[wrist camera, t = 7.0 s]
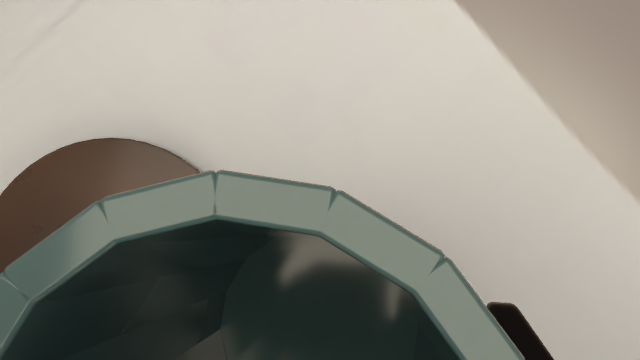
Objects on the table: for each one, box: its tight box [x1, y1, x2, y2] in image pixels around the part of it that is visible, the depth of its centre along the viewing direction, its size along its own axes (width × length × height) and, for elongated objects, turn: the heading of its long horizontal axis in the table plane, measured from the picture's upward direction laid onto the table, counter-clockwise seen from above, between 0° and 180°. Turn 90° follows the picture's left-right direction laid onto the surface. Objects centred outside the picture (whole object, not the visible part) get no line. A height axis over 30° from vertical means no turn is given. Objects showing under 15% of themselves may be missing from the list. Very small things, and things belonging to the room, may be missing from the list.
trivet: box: [0, 138, 200, 274], centre depth 22 cm, size 11×11×1 cm
